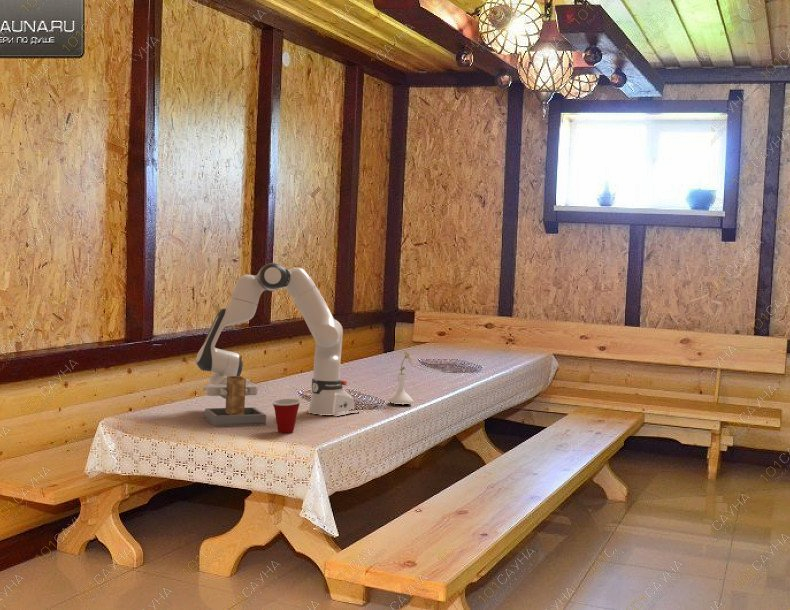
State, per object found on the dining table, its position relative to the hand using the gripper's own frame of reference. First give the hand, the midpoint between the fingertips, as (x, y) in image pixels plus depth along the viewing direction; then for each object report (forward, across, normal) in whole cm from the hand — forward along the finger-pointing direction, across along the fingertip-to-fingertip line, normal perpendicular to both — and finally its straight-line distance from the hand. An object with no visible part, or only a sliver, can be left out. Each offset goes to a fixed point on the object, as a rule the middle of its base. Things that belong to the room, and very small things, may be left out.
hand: (236, 393), depth 403 cm
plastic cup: (+21, +14, +11) cm, 27 cm away
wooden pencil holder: (-1, 0, +8) cm, 8 cm away
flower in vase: (-28, +83, +11) cm, 88 cm away
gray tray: (-1, 0, +11) cm, 11 cm away
